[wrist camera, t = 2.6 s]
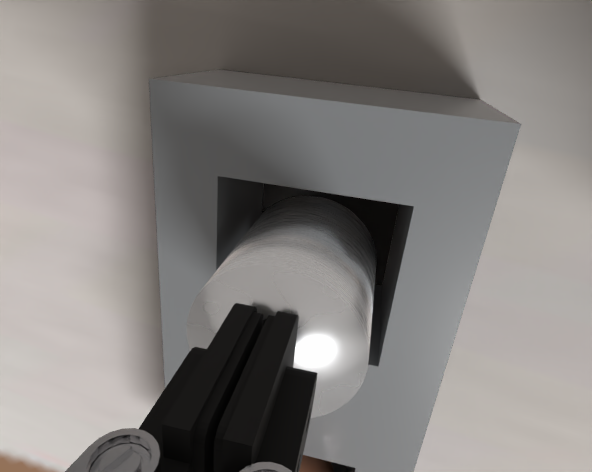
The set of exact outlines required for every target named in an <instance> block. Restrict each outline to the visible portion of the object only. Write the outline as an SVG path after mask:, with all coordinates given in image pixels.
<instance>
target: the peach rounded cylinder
mask: <svg viewBox="0 0 592 472" xmlns="http://www.w3.org/2000/svg"><path fill="white" fill-rule="evenodd" d="M299 472H334V469H333V466H332V464H331V462H330V461H326V460H322V459H318V458H314V457H310V456H306V455H303V457H302V462H301V466H300V471H299Z"/></svg>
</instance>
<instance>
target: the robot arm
mask: <svg viewBox="0 0 592 472" xmlns="http://www.w3.org/2000/svg"><path fill="white" fill-rule="evenodd" d="M298 320H299V316H298V315H296V314H291V313H286V312H281V311H278V312H277V313H276V315H275V316H272V315H268V317H267V319H266V321H265V324H264V326H263V314H261V313H257V307H255V306H250V305H245V304H240V303H235V304H234V305H233V307H232V308H231V310H230V312H229V313H228V315H227V317H226V318H225V320H224V322H223V323H222V325H221V327H220V328H219V330H218V332H217V333H216V335H215V337H214V338H213V340H212V342H211V343H210V345H209V346H208V348H207V349H204V348H199V347H194V348H192V349H191V351H190V352H189V353H188V355H187V356H186V358H185V359H184V361H183V362H182V364H181V365H180V367H179V368H178V370H177V371H176V373H175V374H174V376H173V377H172V379H171V380H170V382H169V384H168V385H167V387H166V388H165V390H164V391H163V393H162V394H161V396H160V397H159V399H158V400H157V402H156V403H155V405H154V406H153V408H152V409H151V411H150V412H149V414H148V415H147V417H146V418H145V420H144V422H143V423H142V425H141V426H140V428H139V429H135V428H129V429H120V430H116V431H113V432H110V433H108V434H106V435H104V436H102V437H100V438H99V439H98V440H96V441H95V442H94V443H93V444H92V445H90V446H89V447H88V448H87V449H86V450H85V451H84V452H83V453H82V455H81V456H80V457H79V458H78V459H77V460H76V461H75V462H74V463H73V464H72V465H71V466H70V467H69V468H68V469H67V470H66V471H65V472H299V471H300V466H301V462H302V457H303V452H304V448H305V443H306V438H307V433H308V429H309V424H310V419H311V413H312V408H313V402H314V396H315V389H316V382H317V374H318V373H316V372H311V371H307V370H302V369H297V368H293V365H294V356H295V347H296V338H297V329H298Z"/></svg>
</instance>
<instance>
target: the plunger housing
mask: <svg viewBox="0 0 592 472" xmlns="http://www.w3.org/2000/svg"><path fill="white" fill-rule="evenodd" d="M149 92H150V111H151V130H152V150H153V169H154V188H155V208H156V227H157V246H158V265H159V285H160V304H161V323H162V342H163V362H164V381H165V388H166V387H167V385H168V384H169V382H170V380H171V379H172V377H173V376H174V374H175V373H176V371H177V370H178V368H179V367H180V365H181V364H182V362H183V361H184V359H185V358H186V356H187V355H188V353H189V352H190V348H189V344H188V340H187V319H188V314H189V311H190V308H191V306H192V303H193V301H194V300H195V298H196V296H197V295H198V293H199V292H200V291H201V290H202V288H203V287H204V286H205V285H206V283H207V282H208V281H209V280H210V278H211V277H212V276H213V274H214V273H215V272H216V271H217V269H218V268H219V267H220V266H221V264H222V263H223V262H224V261H225V259H226V258H227V257H228V255H229V254H230V253H231V252H232V250H233V249H234V248H235V247H236V245H237V244H238V243H239V242H240V240H241V239H242V238H243V237H244V235H245V234H246V233H247V231H248V230H249V229H250V228H251V226H252V225H253V224H254V223H255V221H256V220H257V219H258V218H259V217H260V215H261V214H262V200H263V184H264V183H266V184H273V185H279V186H286V187H292V188H299V189H305V190H312V191H318V192H324V193H331V194H337V195H344V196H350V197H357V198H363V199H370V200H376V201H383V202H389V203H396V204H399V207H398V212H397V217H396V221H395V226H394V231H393V236H392V241H391V246H390V251H389V255H388V260H387V265H386V270H385V275H384V280H383V284H382V286H381V285H375V287H374V300H373V312H372V325H371V337H370V350H369V361H368V369H367V373H366V376H365V379H364V381H363V383H362V385H361V387H360V389H359V390H358V391H357V393H356V394H355V395H354V396H353V397H352V398H351V399H350V400H349V401H348V402H347V403H346V404H344V405H343V406H342V407H340V408H338V409H337V410H335V411H333V412H331V413H328V414H325V415H323V416H319V417H315V418H311V419H310V424H309V429H308V433H307V438H306V443H305V448H304V452H303V455H306V456H310V457H314V458H318V459H322V460H326V461H330V462H331V464H332V466H333V469H334V472H414V468H415V465H416V462H417V459H418V455H419V452H420V449H421V446H422V443H423V439H424V436H425V433H426V430H427V426H428V423H429V420H430V417H431V413H432V410H433V407H434V404H435V401H436V397H437V394H438V391H439V388H440V384H441V381H442V378H443V375H444V371H445V368H446V365H447V362H448V358H449V355H450V352H451V349H452V346H453V342H454V339H455V336H456V333H457V329H458V326H459V323H460V320H461V316H462V313H463V310H464V307H465V304H466V300H467V297H468V294H469V291H470V287H471V284H472V281H473V278H474V274H475V271H476V268H477V265H478V262H479V258H480V255H481V252H482V249H483V245H484V242H485V239H486V236H487V232H488V229H489V226H490V223H491V220H492V216H493V213H494V210H495V207H496V203H497V200H498V197H499V194H500V190H501V187H502V184H503V181H504V177H505V174H506V171H507V168H508V165H509V161H510V158H511V155H512V152H513V148H514V145H515V142H516V139H517V135H518V132H519V129H520V126H521V124H520V123H519V122H517V121H515V120H514V119H512V118H510V117H509V116H507V115H505V114H504V113H502V112H500V111H499V110H497V109H495V108H494V107H492V106H491V105H489V104H487V103H486V102H484V101H482V100H480V99H471V98H462V97H454V96H445V95H436V94H428V93H419V92H410V91H402V90H393V89H384V88H376V87H367V86H358V85H350V84H341V83H332V82H324V81H315V80H306V79H298V78H289V77H280V76H272V75H263V74H254V73H246V72H237V71H228V70H220V69H219V70H211V71H204V72H196V73H188V74H180V75H173V76H165V77H157V78H150V79H149Z"/></svg>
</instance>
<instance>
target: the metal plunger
mask: <svg viewBox="0 0 592 472" xmlns="http://www.w3.org/2000/svg"><path fill="white" fill-rule="evenodd" d="M376 262H377V261H376V250H375V245H374V242H373V239H372V237H371V235H370V233H369V231H368V229H367V228H366V226H365V225H364V223H363V222H362V221H361V220H360V219H359V218H358V217H357V216H356V215H355V214H354V213H353V212H352V211H350V210H349V209H347V208H346V207H344V206H343V205H341V204H339V203H337V202H335V201H332V200H329V199H326V198H322V197H317V196H296V197H291V198H287V199H284V200H282V201H279V202H277V203H275V204H274V205H272V206H270V207H269V208H268V209H267V210H265V211H264V212H263V213H262V214H261V215H260V217H259V218H258V219H257V220H256V221H255V223H254V224H253V225H252V226H251V228H250V229H249V230H248V231H247V233H246V234H245V235H244V237H243V238H242V239H241V240H240V242H239V243H238V244H237V245H236V247H235V248H234V249H233V250H232V252H231V253H230V254H229V255H228V257H227V258H226V259H225V261H224V262H223V263H222V264H221V266H220V267H219V268H218V269H217V271H216V272H215V273H214V274H213V276H212V277H211V278H210V280H209V281H208V282H207V283H206V285H205V286H204V287H203V288H202V290H201V291H200V292H199V293H198V295H197V296H196V298H195V300H194V301H193V303H192V306H191V308H190V311H189V314H188V319H187V340H188V344H189V348H190V351H191V349H192V348H194V347H199V348H204V349H207V348H208V346H209V345H210V343H211V342H212V340H213V338H214V337H215V335H216V333H217V332H218V330H219V328H220V327H221V325H222V323H223V322H224V320H225V318H226V317H227V315H228V313H229V312H230V310H231V308H232V307H233V305H234V304H235V303H240V304H245V305H250V306H255V307H257V313H261V314H263V326H264V324H265V321H266V319H267V317H268V315H272V316H275V315H276V313H277V312H278V311H281V312H286V313H291V314H296V315H298V316H299V320H298V329H297V338H296V347H295V356H294V365H293V368H297V369H302V370H307V371H311V372H316V373H318V374H317V382H316V389H315V396H314V402H313V408H312V413H311V418H315V417H319V416H323V415H325V414H328V413H331V412H333V411H335V410H337V409H338V408H340V407H342V406H343V405H344V404H346V403H347V402H348V401H349V400H350V399H351V398H352V397H353V396H354V395H355V394H356V393H357V391H358V390H359V389H360V387H361V385H362V383H363V381H364V379H365V376H366V373H367V369H368V361H369V350H370V337H371V325H372V312H373V300H374V287H375V275H376Z"/></svg>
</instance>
